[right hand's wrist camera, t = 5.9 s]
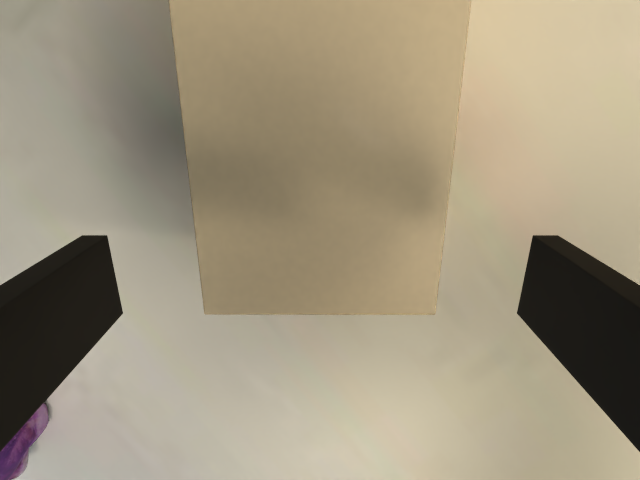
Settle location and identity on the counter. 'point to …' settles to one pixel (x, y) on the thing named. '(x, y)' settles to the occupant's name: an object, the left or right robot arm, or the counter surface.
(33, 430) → the figurine
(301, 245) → the cabinet
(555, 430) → the counter surface
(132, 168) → the counter surface
